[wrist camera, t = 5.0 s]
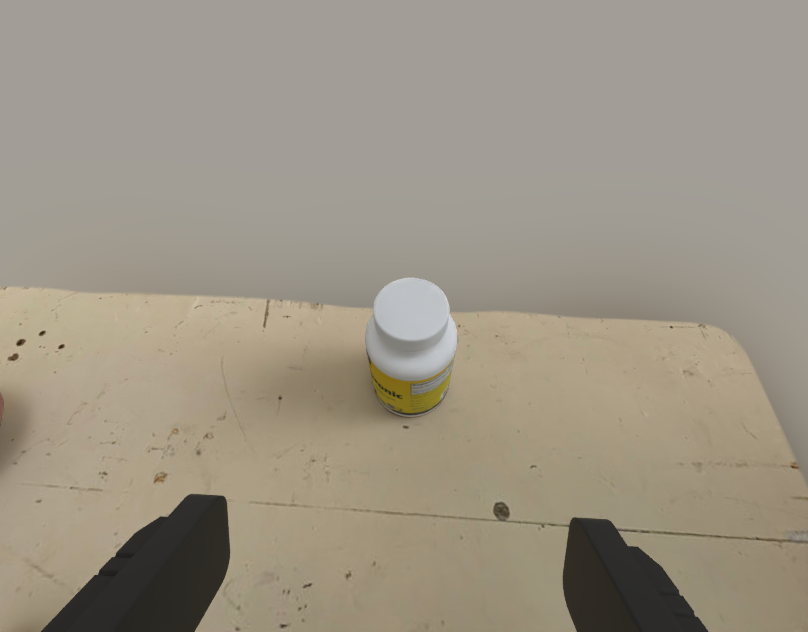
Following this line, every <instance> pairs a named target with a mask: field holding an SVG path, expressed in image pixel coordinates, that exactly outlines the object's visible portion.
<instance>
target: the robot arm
mask: <svg viewBox="0 0 808 632" xmlns="http://www.w3.org/2000/svg"><path fill="white" fill-rule="evenodd" d="M229 559H230V543H229V527H228V512H227V501H226V499H225V497H224V496H218V495H201V494H190V495H188V496H187V497H185V498H184V500H183V501H182V502H181V503H180V504H179V505H178V506H177V507H176V508H175V510H174V511H173V512H172V513H171V514H170V515H169V516H168V517H159V518H158V519H156V520H155V521H153V522H151V523H150V524H148V525H147V526H145V527H144V528H142V529H141V530H139V531H138V532H136V533H135V534H134V535H133V536H132V537H131V538H130V539H129V540H128V541H127V542H126V543H125V544H124V545H123V546H122V547H121V549H120V550H119V551H118V552H117V553H116V556H115V557H112V558H111V559H110V560H109V561H108V562H107V563H106V564H105V565H104V566H103V567H102V568H101V569H100V570H99V574H98V575H95V576H94V577H93V578H92V579H91V580H90V581H89V582H88V583H87V584H86V585H85V586H84V587H83V588H82V589H81V590H80V591H79V592H78V593H77V594H76V595H75V597H74V598H73V599H72V600H71V601H70V602H69V603H68V604H67V605H66V606H65V607H64V608H63V609H62V610H61V611H60V612H59V613H58V614H57V615H56V616H55V617H54V618H53V619H52V620H51V622H50V623H49V624H48V625H47V626H46V627H45V628H44V629H43V630H42V631H41V632H195V630H196V628H197V626H198V625H199V623H200V621H201V619H202V618H203V616H204V614H205V612H206V611H207V609H208V607H209V605H210V604H211V602H212V600H213V598H214V597H215V595H216V593H217V591H218V590H219V588H220V586H221V584H222V582H223V580H224V578H225V575H226V572H227V569H228V564H229ZM563 589H564V596H565V600H566V604H567V607H568V610H569V613H570V615H571V618H572V620H573V623H574V625H575V628H576V631H577V632H708V630H707V629H706V628H705V626H704V625H703V624H702V622H701V621H700V619H699V618H698V617H695V615H694V611H693V610H692V608H691V607H690V606H689V604H688V603H687V601H686V600H685V599H684V597H683V596H680V594H679V590H678V589H677V588H676V586H675V585H674V583H673V582H672V581H671V579H670V578H669V576H668V575H667V574H666V572H665V571H664V570H663V568H662V567H661V566H660V565H659V564H657V563H656V562H655V561H654V560H653V559H652V558H650V557H649V556H648V555H647V554H646V553H644V552H643V551H642V550H641V549H640V548H638V547H633V546H627V544H626V543H625V541H624V540H623V538H622V537H621V535H620V534H619V532H618V531H617V529H616V528H615V526H614V525H613V524H612V522H611V521H609V520H607V519H592V518H575V517H574V518H572V520H571V522H570V526H569V533H568V540H567V548H566V555H565V562H564V570H563Z"/></svg>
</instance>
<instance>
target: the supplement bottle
mask: <svg viewBox="0 0 808 632" xmlns="http://www.w3.org/2000/svg"><path fill="white" fill-rule="evenodd" d="M365 343H366V351H367V355H368V360H369V365H370V370H371V376H372V382H373V386H374V390H375V393H376V395H377V397H378V399H379V401H380V402H381V403H382V405H383V406H385V407H386V408H387V409H388V410H390V411H391V412H393V413H395V414H397V415H400V416H405V417H416V416H421V415H424V414H427V413H429V412H431V411H432V410H434V409H435V408H436V407H437V406H438V405H439V404H440V403H441V402H442V401H443V399H444V397H445V395H446V393H447V390H448V386H449V381H450V376H451V371H452V367H453V362H454V357H455V352H456V347H457V329H456V326H455V323H454V321H453V319H452V317H451V316H450V314H449V303H448V300H447V298H446V296H445V294H444V293H443V292H442V291H441V289H440V288H438V287H437V286H436V285H434V284H433V283H431V282H429V281H426V280H423V279H419V278H404V279H399V280H395V281H393V282H391V283H389V284H388V285H386V286H385V287H384V288H383V289H382V290H381V291H380V292H379V293H378V295H377V297H376V298H375V301H374V305H373V315H372V316H371V318H370V320H369V322H368V324H367V328H366V333H365Z"/></svg>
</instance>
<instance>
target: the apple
mask: <svg viewBox="0 0 808 632" xmlns="http://www.w3.org/2000/svg"><path fill="white" fill-rule="evenodd" d="M3 409H4V401H3V397H2V395H1V393H0V425H1V420H2V414H3Z"/></svg>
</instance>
